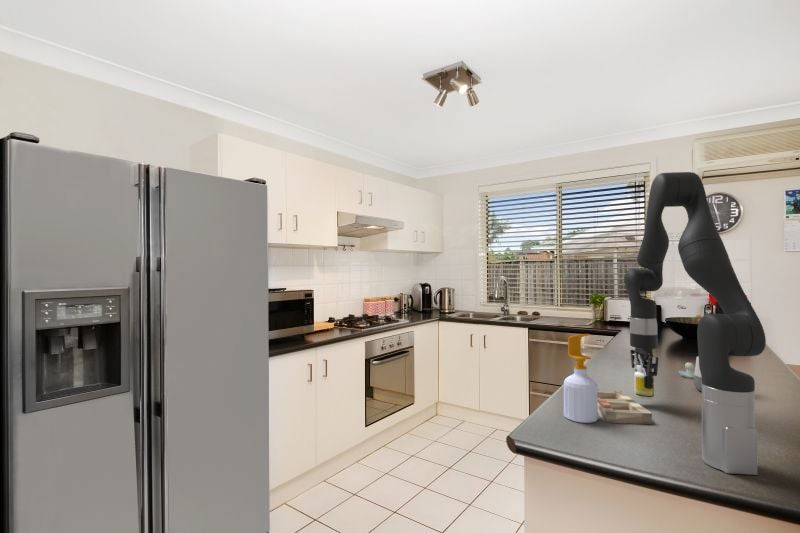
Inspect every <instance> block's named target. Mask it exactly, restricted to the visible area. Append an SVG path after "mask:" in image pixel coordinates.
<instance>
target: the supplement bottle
mask: <svg viewBox="0 0 800 533" xmlns="http://www.w3.org/2000/svg"><path fill="white" fill-rule="evenodd" d="M645 366H647V365H645ZM637 370H638V371H637V372H636V371H634V373H633V374H634V375H633V396H634V397H636V398H638V399H643V400H652V399H654V398H655V376H654V377H653V388H652V389H646V388H645V387H644V371H643V369H642V368H641V365H637ZM646 370H647V369H646Z"/></svg>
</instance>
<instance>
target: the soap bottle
mask: <svg viewBox="0 0 800 533" xmlns="http://www.w3.org/2000/svg"><path fill="white" fill-rule="evenodd" d="M587 336H590V333H578V334H573V335H570V336H569V337H568V338H567V353H568V354H567V355H568V356H569V357H570V358H573V359H574V360H575V362H577V364H576V365H574V368H573V369H574V370H573V372H574V373H572V374H571V375H569V376H567V377H566V378H565V379H564V381H563V416H564V417H565V418H566V419H568V420H569V421H572V422H577V423H580V424H581V423H582V424H583V423H584V424H591V423H595V422H597V421H598V419H599V418H598V415H599V414H598V391H599V390H598V389H599V388H598V383H597V381H596V380H595V379H594V378H592V377H591V376H589V375H588V374H587V372H588V371H587V370H588V369H587V366H586V365H584V363H585V362H586V360H591V358H592V357H590V356H588V355H584V354H582V351H581V348H582V347H581V342H582V341H581V340H582V338H584V337H587Z"/></svg>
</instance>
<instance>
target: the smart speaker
mask: <svg viewBox="0 0 800 533" xmlns="http://www.w3.org/2000/svg"><path fill="white" fill-rule="evenodd" d="M693 374H694V379H693V383H694V387H695V389H696V390H697V391H699V392H700V393H702V376H701V372H700V368H699V356H696V359H695V365H694V372H693Z"/></svg>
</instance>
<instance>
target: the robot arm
mask: <svg viewBox="0 0 800 533" xmlns="http://www.w3.org/2000/svg"><path fill="white" fill-rule="evenodd" d="M705 190H706V189H705V186H704V183H703V180H702V179H701V177H700V176H699V174H697V173H696V172H691V171H685V172H684V171H680V172H679V171H677V172H661V173H659V174H656V176H655V177H654V179H653V180H652V183H651V185H650V188H649V193H648V194H649V195H648V201H647V202H648V203H647V208H646V215H645V225H644V226H645V227H644V231H643V232H644V233H643V237H642V240H641V244H640V248H639V251H638V254H637V257H636V262H637V264H638V266H640V267H642V268H636V269H635V268H634V269H633V268H632V269H629V270H627V272H625V274H624V277H623V283H624V287H625V290H626V292H627V296H628V298H629V302H630V304H629V305H630V320H629V345H630V347H632V348H634V349H630V352H629V353H630V363H631V368H632V369H633V370H634V372H637V371H638V370H637V365H641V368H642V369H643V371H644V387H645V388H646V389H652V388H653V377H654V378H655V377H656V376H658V368H659V357H658V356H654V353H653V350H654V349H657V348H658V321H657V303H656V301H655V300H653V299H649V298H645V297H643V296H642V294H641V293H640V292H656V291H658V290H660V289H661V288H662V286H663V282H664V278H663V275H664V274H663V270H664V267H663V266H664V261H665V259H666V257H667V256H666V255H667V252H668V250H669V246H670V238H669V235H668V233H667V230H666V228H665V225H664V222H663V218H662V216H663V215H662V214H663V212H664V210H665V208H672V207H674V208H675V207H683V208H684V209H685V211H686V214H687V217H688V218H687V219H688V220H687V223H686V226H685V228H684V230H683V231H682V233H681V236H680V238H679V241H678V244H677V249H678V250H677V251H678V254H679V257H680V260H681V263H682V266H683V268H684V270H685V273H687V275H688V276H689V277H690V278H691V279H692V280H693V281H694V282H695V283H696V284H697V285H699V286H700V287H701V288H702V289H703V290H705V291H706V293H708V294H709V295H710V296H712V298H713V299H714V300H715V301H716V302H717V303H718V305H719V307H720V308H721V310H722V313H707V314H705V315H703V316H702V317H701V318H700V319H699V321H698V324H697V330H696V334H697V335H696V336H697V352H698V357H699V368H700V372H701V376H702V392H701V459H702V461H703V462H704V463H705V464H706V465H708V466H710V467H712V468H715V469H717V470H719V471H720V470H721V471H723V472H724V473H725V474H734V475H735V474H737V475H754V476H755V475H756V476H757V475H758V472H759V470H758V429H756V428H755V427H756V426H755V424H756V421H755V416H756V415H755V413H756V412H755V411H756V410H755V409H756V406H755V405H756V404H755V403H756V401H755V400H756V399H755V397H756V390H755V388H756V386H755V382H756V381H755V379H754V377H753V376H752V375H751V374H748V373H746V372H743V371H740V370H737V369H735V368H733V367H732V366H731V365H730V357H756V356H759V355H761V354H762V353H763V352H764V351H765V348H766V343H767V341H766V340H767V339H766V333H765V330H764V327H763V325H762V323H761V321H760V318H759V316H758V314H757V313H756V311H755V309H754V308H753V305H752V304H751V302H750V301H749V298H748V297H747V295H746V293H745V292H744V289H743V288H742V286H741V283H740V282H739V279H738V276H737V274H736V272H735V270H734V268H733V265H732V262H731V259H730V256H729V254H728V251H727V248H726V246H725V245H724V242H723V240H722V237H721V235H720V234H719V231H718V228H717V225H716V223H715V221H714V217H713V215H712V211H711V208H710V206H709V205H710V204H709V202H708V198H707V194H706V191H705ZM645 365H647V366H645ZM646 369H647V370H646Z"/></svg>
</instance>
